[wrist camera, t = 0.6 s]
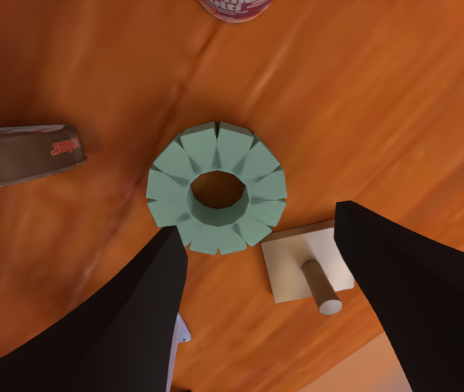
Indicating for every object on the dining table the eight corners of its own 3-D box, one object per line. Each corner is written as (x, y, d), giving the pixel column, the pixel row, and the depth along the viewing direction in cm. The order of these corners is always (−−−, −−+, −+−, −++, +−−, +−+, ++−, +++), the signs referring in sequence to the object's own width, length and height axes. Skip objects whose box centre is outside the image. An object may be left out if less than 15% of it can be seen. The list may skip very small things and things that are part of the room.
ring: (181, 244, 23) (175, 265, 20) (136, 141, 18) (121, 151, 16) (285, 220, 22) (294, 239, 20) (266, 107, 18) (274, 111, 15)
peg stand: (273, 295, 27) (285, 347, 22) (258, 235, 23) (270, 281, 18) (348, 279, 26) (381, 329, 21) (347, 215, 22) (387, 257, 17)
